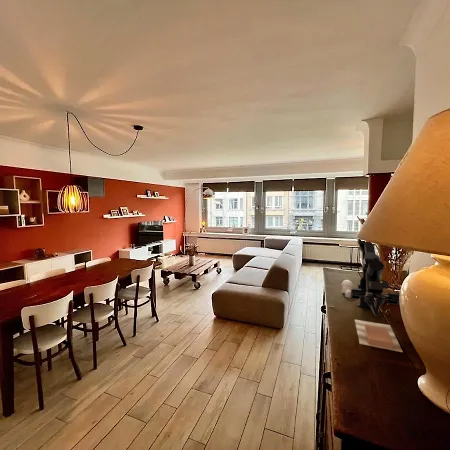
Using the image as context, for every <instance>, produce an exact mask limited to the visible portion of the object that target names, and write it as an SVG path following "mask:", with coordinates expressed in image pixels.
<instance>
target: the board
mask: <svg viewBox="0 0 450 450" xmlns="http://www.w3.org/2000/svg"><path fill="white" fill-rule="evenodd" d="M354 323H355V328H356V333H357V337H358V342H359V345H365V346H369V347H374V348H379V349H385V350H389V351H395V352H400V353H403V350H402V348H401V345H400V343H399V341H398V339H397V338H396V337H397V336H396V335H395V332H394V331H393V328H392V327H391V325H390V324H385V323H377V322H372V321H367V320H362V319H361V320H359V319H354ZM365 325H371V326H376V327H382V328H387V330H388V332H389V334H390V337H391V339H392V341H393V349H389V348H384V347H379V346H374V345H369V344H368V341H367V337H366V333H365Z"/></svg>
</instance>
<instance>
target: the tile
mask: <svg viewBox="0 0 450 450" xmlns="http://www.w3.org/2000/svg"><path fill="white" fill-rule="evenodd" d="M365 333H366V337H367V341H368V344H369V345H374V346H379V347H384V348H389V349H393V341H392V339H391V337H390V334H389V332H388V330H387V328H382V327H376V326H371V325H365ZM384 348H383V349H384ZM389 349H388V350H389Z"/></svg>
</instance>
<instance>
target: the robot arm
mask: <svg viewBox="0 0 450 450" xmlns="http://www.w3.org/2000/svg"><path fill="white" fill-rule="evenodd" d="M357 245H358V249H359V251H360V252H361V266H362V267H361V268H362V269H361V272H362V273H361V274H362V275H361V276H362V277H361V278H360V280H359V282H358V284H357V288H355V287H352V289H351V293H350V298H349V299H351V300H352V299H353V300H359V303H358V304H357V307H360V308H364V309H368V310H371V311H372V314H373V315H374V316H377V315H378V313H379V309H380V306H381V305H384V304H385V301H387V303H388V304H389V305H394V306H395V305H399V304H400V302H399V295H400V293H396V292H395V293H389V294H382V293H383V289H389V281H388V280H383V281H381V275H382V273H383V270H384V268H385V264H384V263H383V262H382V260H381V259H380V256H379V255H377V253H376V249H375V246H376V245H375V244H372V243H368V242H365V241H361V240H358V239H357ZM374 299H375V300H374Z"/></svg>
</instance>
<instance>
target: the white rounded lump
mask: <svg viewBox="0 0 450 450" xmlns="http://www.w3.org/2000/svg"><path fill="white" fill-rule="evenodd" d="M353 286H354V284H353V282H352V281H351V280H349V279H344V280H343V281H342V282H341V294H342V293H344V296H345V297H346V298H347V299H351V298H350V293H351V289H352V288H353Z"/></svg>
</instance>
